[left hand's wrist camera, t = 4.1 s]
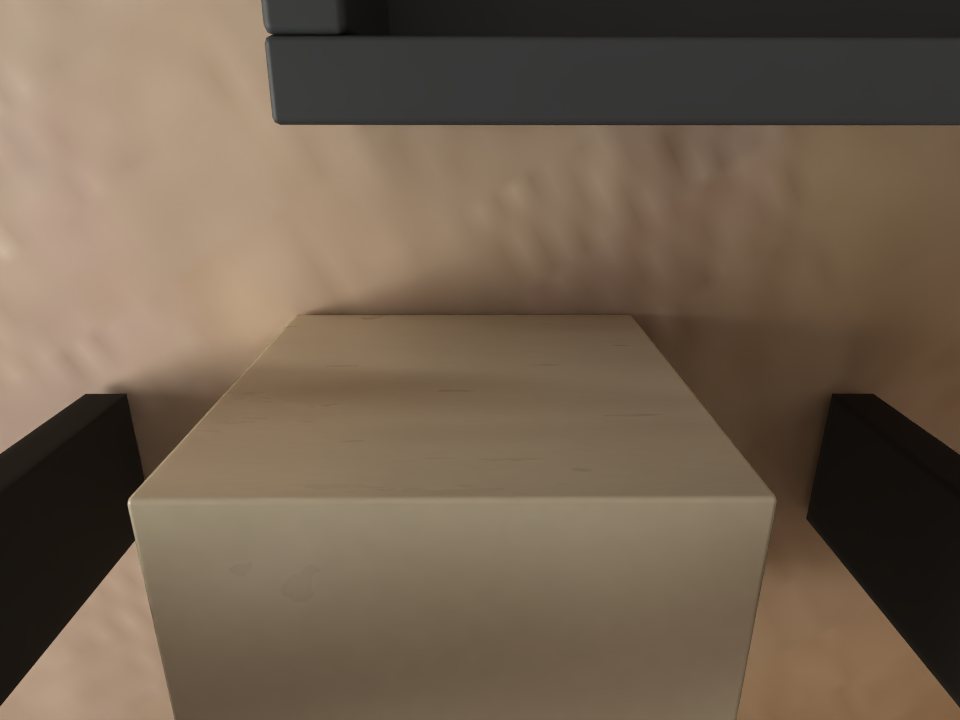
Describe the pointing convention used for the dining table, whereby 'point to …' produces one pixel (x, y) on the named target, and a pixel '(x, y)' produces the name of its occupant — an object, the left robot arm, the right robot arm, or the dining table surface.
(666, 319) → the dining table surface
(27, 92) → the dining table surface
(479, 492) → the block
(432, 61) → the tray
